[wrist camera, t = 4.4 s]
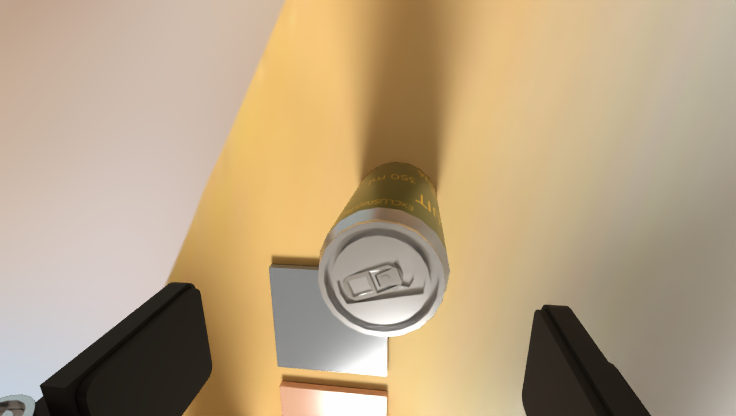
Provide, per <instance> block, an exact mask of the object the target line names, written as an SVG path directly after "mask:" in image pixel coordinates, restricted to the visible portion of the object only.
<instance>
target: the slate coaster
mask: <svg viewBox="0 0 736 416" xmlns="http://www.w3.org/2000/svg"><path fill="white" fill-rule="evenodd" d="M269 273H270V284H271V295H272V306H273V318H274V329H275V340H276V351H277V362H278V367H287V368H298V369H309V370H320V371H331V372H342V373H352V374H363V375H374V376H385V377H387V366H388V337H380V336H374V335H368V334H363V333H361V332H359V331H357V330H355V329H352V328H350V327H348V326H346V325H345V324H344V323H343V322H342V321H341V320H339V319H338V318H337V317H336V316H335V315H333V313H332V312H331V310H330V309H329V307H328V306H327V304H326V303H325V301H324V300H323V298H322V294H321V291H320V287H319V283H318V273H319V267H318V266H300V265H282V264H271V266H270V267H269Z"/></svg>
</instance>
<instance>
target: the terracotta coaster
mask: <svg viewBox="0 0 736 416" xmlns="http://www.w3.org/2000/svg"><path fill="white" fill-rule="evenodd" d="M280 395H281V406H282V416H387V391H379V390H368V389H358V388H348V387H338V386H327V385H317V384H307V383H296V382H286V381H282V383H281V385H280Z"/></svg>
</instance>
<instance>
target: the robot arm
mask: <svg viewBox="0 0 736 416" xmlns="http://www.w3.org/2000/svg"><path fill="white" fill-rule="evenodd" d="M211 371H212V360H211V354H210V348H209V342H208V336H207V330H206V324H205V318H204V312H203V306H202V300H201V294H200V291H199V290H198V289H196V288H195V286H194V285H193V284H191V283H177V282H172V283H170V284H168V285H167V286H165V287H164V288H163V289H162V290H160V291H159V292H158V293H157V294H155V295H154V296H153V297H151V298H150V299H149V300H148V301H146V302H145V303H144V304H143V305H141V306H140V307H139V308H138V309H136V310H135V311H134V312H132V313H131V314H130V315H129V316H127V317H126V318H125V319H124V320H122V321H121V322H120V323H118V324H117V325H116V326H115V327H114V328H112V329H111V330H110V331H108V332H107V333H106V334H105V335H103V336H102V337H101V338H99V339H98V340H97V341H96V342H94V343H93V344H92V345H91V346H89V347H88V348H87V349H85V350H84V351H83V352H82V353H80V354H79V355H78V356H77V357H75V358H74V359H73V360H72V361H70V362H69V363H68V364H66V365H65V366H64V367H63V368H61V369H60V370H59V371H58V372H56V373H55V374H54V375H52V376H51V377H50V378H49V379H48V380H46V381H45V382H44V383H42V384H41V385H40V387H41V390H42V393H43V397H42V398H41V399H39V400H38V401H37V402H36V403H35V400H34V399H33V398H32V397H30V396H27V395H10V396H6V397H3V398H0V416H182V415H183V413H184V412H185V410H186V409H187V408H188V406H189V405H190V404H191V402H192V401H193V399H194V398H195V397H196V395H197V394H198V392H199V391H200V390H201V388H202V387H203V385H204V384H205V383H206V381H207V380H208V378H209V377H210V374H211ZM522 401H523V406H524V410H525V412H526V415H527V416H651V415H650V414H649V412H648V411H647V409H646V408H645V407H644V405H643V404H642V403H641V401H640V400H639V398H638V397H637V396H636V394H635V393H634V391H633V390H632V389H631V387H630V386H629V385H628V383H627V382H626V380H625V379H624V378H623V376H622V375H621V373H620V372H619V371H618V369H617V368H616V367H615V366H614V365H613V364H611V363H609V362H608V361H607V359H606V358H605V357H604V355H603V354H602V352H601V351H600V349H599V348H598V347H597V345H596V344H595V342H594V341H593V340H592V338H591V337H590V335H589V334H588V333H587V331H586V330H585V328H584V327H583V325H582V324H581V323H580V321H579V320H578V318H577V317H576V316H575V314H574V313H573V311H572V310H571V309H570V308H569V307H568V306H557V305H544V306H543V307H542V310H536V311H535V313H534V319H533V325H532V331H531V338H530V344H529V351H528V357H527V364H526V370H525V377H524V383H523V390H522Z"/></svg>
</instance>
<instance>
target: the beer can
mask: <svg viewBox="0 0 736 416" xmlns="http://www.w3.org/2000/svg"><path fill="white" fill-rule="evenodd" d="M449 272H450V269H449V263H448V257H447V252H446V246H445V241H444V235H443V230H442V224H441V219H440V213H439V208H438V202H437V197H436V191H435V188H434V186H433V184H432V182H431V181H430V179H429V177H428V176H427V175H425V174H424V173H423V172H422V171H421V170H420V169H418V168H416V167H414V166H412V165H410V164H406V163H398V162H393V163H388V164H383V165H381V166H379V167H377V168H375V169H374V170H372V171H371V172H370V173H369V174H368V175H367V176H366V177H365V178H364V179H363V181H362V182H361V184H360V185H359V187H358V188H357V190H356V192H355V193H354V195H353V196H352V198H351V199H350V201H349V202H348V204H347V205H346V207H345V208H344V210H343V211H342V213H341V214H340V216H339V218H338V219H337V221H336V222H335V224H334V225H333V227H332V228H331V230H330V231H329V233H328V234H327V237H326V239H325V241H324V244H323V246H322V248H321V251H320V260H319V273H318V283H319V287H320V291H321V294H322V298H323V300H324V301H325V303H326V304H327V306H328V307H329V309H330V310H331V312H332V313H333V315H335V316H336V317H337V318H338V319H339V320H341V321H342V322H343V323H344V324H345V325H346V326H348V327H350V328H352V329H355V330H357V331H359V332H361V333H363V334H368V335H374V336H380V337H389V336H398V335H404V334H406V333H408V332H411V331H413V330H416V329H418V328H420V327H421V326H422V325H423V324H425V323H426V322H427V321H428V320H429V319H431V318H432V317H433V316H434V314H435V312H436V311H437V309H438V307H439V306H440V304H441V302H442V300H443V295H444V292H445V291H446V288H447V283H448V278H449Z"/></svg>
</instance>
